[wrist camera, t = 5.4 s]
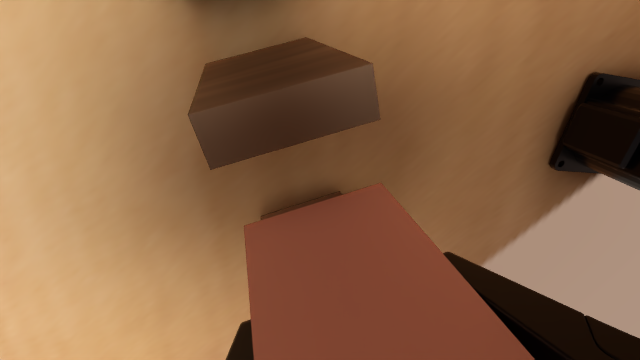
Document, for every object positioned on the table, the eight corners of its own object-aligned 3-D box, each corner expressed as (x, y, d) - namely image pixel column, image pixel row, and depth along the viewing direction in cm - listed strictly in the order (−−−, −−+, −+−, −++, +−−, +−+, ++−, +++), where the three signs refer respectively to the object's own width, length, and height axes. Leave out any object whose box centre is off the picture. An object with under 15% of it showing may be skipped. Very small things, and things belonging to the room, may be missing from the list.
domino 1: (205, 63, 17) (187, 114, 9) (306, 37, 17) (372, 63, 9) (217, 96, 18) (210, 169, 10) (313, 70, 18) (380, 119, 10)
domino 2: (244, 225, 12) (274, 640, 4) (381, 182, 13) (639, 479, 5) (257, 260, 13) (306, 668, 5) (386, 218, 13) (616, 526, 5)
